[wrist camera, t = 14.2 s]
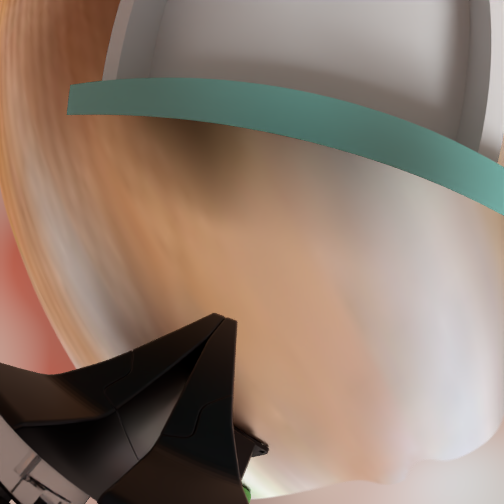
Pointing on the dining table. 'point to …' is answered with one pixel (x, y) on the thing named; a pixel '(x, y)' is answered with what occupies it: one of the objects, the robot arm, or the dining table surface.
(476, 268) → the dining table surface
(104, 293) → the dining table surface
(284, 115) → the grey tray
